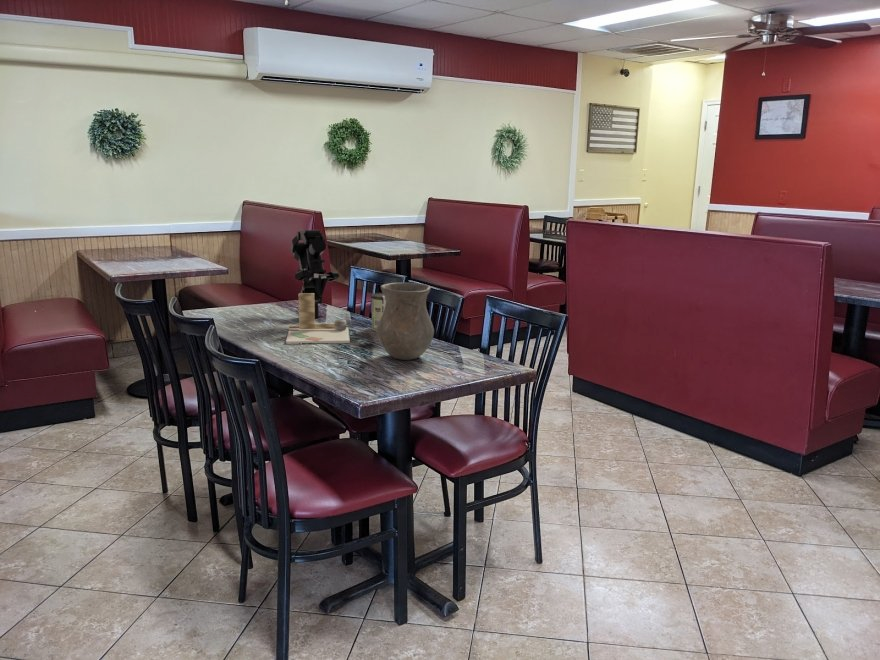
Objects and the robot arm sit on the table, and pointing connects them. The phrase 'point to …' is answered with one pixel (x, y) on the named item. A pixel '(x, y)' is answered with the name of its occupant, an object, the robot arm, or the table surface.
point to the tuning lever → (313, 315)
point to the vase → (405, 320)
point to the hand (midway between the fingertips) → (320, 296)
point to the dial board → (317, 336)
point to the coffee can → (376, 309)
